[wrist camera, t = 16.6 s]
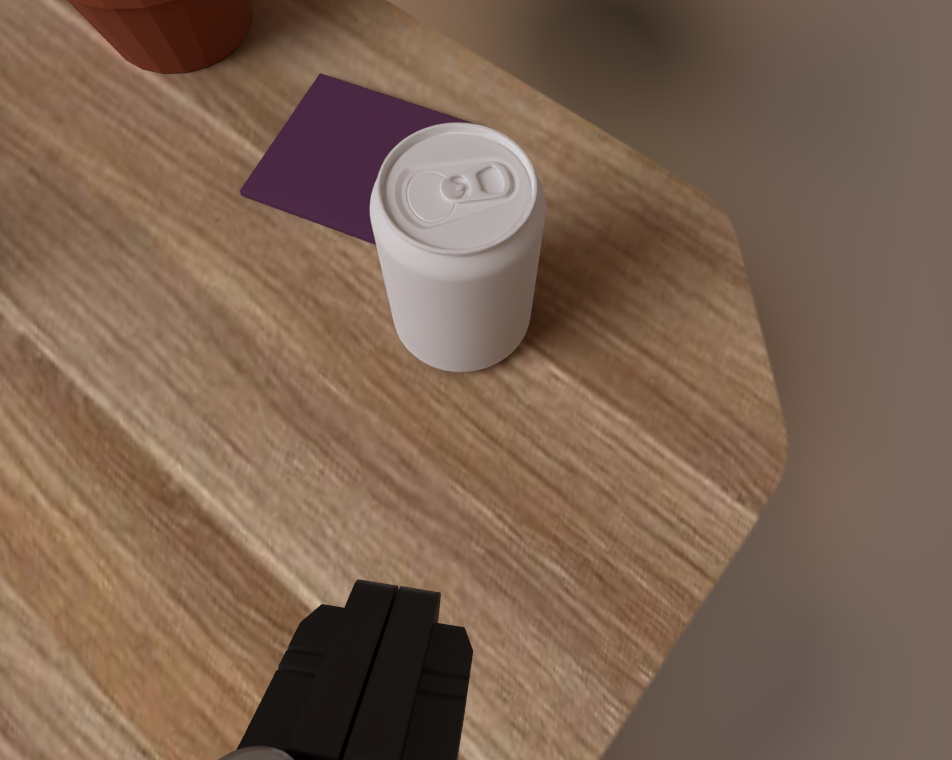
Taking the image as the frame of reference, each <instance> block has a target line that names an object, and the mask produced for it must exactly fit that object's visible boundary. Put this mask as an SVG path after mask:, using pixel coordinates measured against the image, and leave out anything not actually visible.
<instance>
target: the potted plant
mask: <svg viewBox="0 0 952 760" xmlns="http://www.w3.org/2000/svg"><path fill="white" fill-rule="evenodd" d="M68 1H69V2H70V3H71V4H72V5H73V6H74V7H75V9H76V10H77V11H78V12H79V13H80V14H81V15H82V16H83V17H84V18H85V19H86V20H87V21H88V22H89V23H90V24H91V25H92V26H93V27H94V28H95V29H96V30H97V31H98V32H99V33H100V34H101V35H102V36H103V37H104V38H105V39H106V40H107V41H108V42H109V43H110V44H111V45H112V46H113V47H114V48H115V49H116V50H117V51H118V52H119V53H120V54H121V55H122V57H123V58H124V59H125V60H127V61H128V62H130V63H132V64H134V65H136V66H137V67H139V68H141V69H143V70H148V71H153V72H158V73H163V74H167V73H187V72H190V71H194V70H198V69H202V68H205V67H208V66H210V65H212V64H214V63H216V62H218V61H220V60H221V59H223V58H225V57H227V56H228V55H229V54H230V53H231V52H233V51H234V50H235V49H236V48H237V47H238V46H239V45H240V44H241V43H242V42H243V40H244V38H245V36H246V34H247V32H248V30H249V29H250V24H251V14H252V7H251V0H68Z"/></svg>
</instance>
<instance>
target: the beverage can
mask: <svg viewBox="0 0 952 760" xmlns="http://www.w3.org/2000/svg"><path fill="white" fill-rule="evenodd" d="M545 215H546V202H545V195H544V191H543V187H542V184H541V182H540V180H539V178H538V176H537V174H536V172H535V169H534V167H533V164H532V162H531V161H530V159H529V157H528V156H527V154H526V153H525V152H524V150H523V149H522V148H521V147H520V146H519V145H518V144H517V143H516V142H514V141H513V140H512V139H510V138H509V137H507V136H506V135H504V134H502V133H500V132H498V131H496V130H494V129H491V128H489V127H485V126H482V125H477V124H471V123H444V124H438V125H434V126H430V127H427V128H424V129H422V130H419V131H417V132H415V133H413V134H411V135H410V136H408V137H406V138H405V139H404V140H402V141H401V142H400V143H399V144H397V145H396V146H395V147H394V148H393V149H392V150H391V152H390V153H389V154H388V156H387V157H386V159H385V160H384V162H383V164H382V166H381V168H380V171H379V174H378V178H377V180H376V182H375V184H374V187H373V190H372V194H371V199H370V219H371V224H372V229H373V233H374V237H375V242H376V246H377V251H378V255H379V259H380V264H381V268H382V272H383V277H384V281H385V286H386V290H387V294H388V299H389V303H390V308H391V312H392V316H393V321H394V325H395V328H396V331H397V334H398V336H399V338H400V340H401V341H402V343H403V344H404V345H405V347H406V348H407V349H408V350H409V351H410V352H411V353H412V354H413V355H414V356H415V357H417V358H418V359H419V360H421V361H422V362H424V363H426V364H428V365H430V366H432V367H435V368H438V369H441V370H445V371H451V372H471V371H477V370H481V369H485V368H488V367H490V366H493V365H495V364H497V363H499V362H500V361H502V360H503V359H505V358H506V357H508V356H509V355H510V354H511V353H512V352H513V351H514V350H515V349H516V348H517V347H518V346H519V344H520V343H521V341H522V340H523V338H524V336H525V334H526V332H527V329H528V326H529V322H530V317H531V310H532V303H533V297H534V290H535V283H536V276H537V270H538V263H539V256H540V249H541V243H542V236H543V229H544V222H545Z"/></svg>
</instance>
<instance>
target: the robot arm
mask: <svg viewBox="0 0 952 760" xmlns="http://www.w3.org/2000/svg"><path fill="white" fill-rule="evenodd" d="M440 598H441V593H440V592H434V591H428V590H422V589H415V588H409V587H403V586H400V588H399V590H398V586H396V585H390V584H384V583H377V582H371V581H365V580H359V579H358V580H357V581H356V582H355V584H354V586H353V589H352V591H351V594H350V596H349V598H348V601H347V603H346V605H345V608H342V607H336V606H330V605H324V604H322V605H320V606H319V607H318V608H317V609H316V610H314V611H313V612H312V613H311V614H310V615H309V616H307V617H306V618H305V619H304V620H303V621H301V622H300V624H299V626H298V628H297V630H296V632H295V634H294V636H293V638H292V640H291V642H290V644H289V647H288V651H286V652H285V654H284V656H283V658H282V660H281V662H280V664H279V668H278V671H277V670H276V672H275V674H274V676H273V678H272V680H271V682H270V684H269V686H268V688H267V690H266V692H265V694H264V696H263V698H262V700H261V702H260V704H259V706H258V708H257V710H256V712H255V714H254V716H253V718H252V720H251V722H250V724H249V726H248V728H247V730H246V732H245V734H244V736H243V738H242V740H241V742H240V744H239V746H238V748H237V749H236V751H233V752H231V753H229V754H227V755H225V756H223V757H222V758H220V759H219V760H457V759H458V752H459V746H460V740H461V733H462V727H463V720H464V713H465V706H466V699H467V692H468V684H469V677H470V670H471V663H472V656H473V649H472V647H471V644H470V641H469V638H468V636H467V633H466V630H465V627H459V626H453V625H446V624H440V623H438V617H439V608H440Z"/></svg>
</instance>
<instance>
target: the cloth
mask: <svg viewBox="0 0 952 760" xmlns="http://www.w3.org/2000/svg"><path fill="white" fill-rule="evenodd" d="M444 123H470V122H467V121H464V120H461V119H458V118H455V117H452V116H449V115H446V114H443V113H440V112H437V111H434V110H431V109H427V108H424V107H421V106H418V105H415V104H412V103H409V102H406V101H403V100H400V99H397V98H394V97H391V96H388V95H385V94H382V93H379V92H376V91H372V90H369V89H366V88H363V87H360V86H357V85H354V84H351V83H348V82H345V81H342V80H339V79H336V78H333V77H330V76H327V75H324V74H319V76H318V77H317V78H316V80H315V81H314V83H313V84H312V86H311V87H310V89H309V90H308V92H307V93H306V95H305V96H304V98H303V99H302V100H301V102H300V103H299V105H298V106H297V108H296V109H295V111H294V112H293V114H292V115H291V117H290V118H289V120H288V121H287V122H286V124H285V125H284V127H283V128H282V130H281V131H280V133H279V134H278V136H277V137H276V139H275V140H274V141H273V143H272V144H271V146H270V147H269V149H268V150H267V152H266V153H265V155H264V156H263V158H262V159H261V161H260V162H259V163H258V165H257V166H256V168H255V169H254V171H253V172H252V174H251V175H250V177H249V178H248V180H247V181H246V183H245V184H244V185H243V187H242V188H241V190H240V193H241V195H242V196H244V197H247V198H249V199H252V200H255V201H258V202H260V203H263V204H266V205H269V206H271V207H274V208H277V209H280V210H282V211H285V212H288V213H291V214H293V215H296V216H299V217H301V218H304V219H307V220H310V221H312V222H315V223H318V224H321V225H323V226H326V227H329V228H332V229H334V230H337V231H340V232H343V233H345V234H348V235H351V236H354V237H356V238H359V239H362V240H365V241H367V242H370V243H373V244H376V242H375V237H374V233H373V229H372V224H371V219H370V199H371V194H372V190H373V187H374V184H375V182H376V180H377V178H378V174H379V171H380V168H381V166H382V164H383V162H384V160H385V159H386V157H387V156H388V154H389V153H390V152H391V150H392V149H393V148H394V147H395V146H396V145H397V144H399V143H400V142H401V141H402V140H404V139H405V138H406V137H408V136H410V135H411V134H413V133H415V132H417V131H419V130H422V129H424V128H427V127H430V126H434V125H438V124H444ZM471 124H473V123H471Z"/></svg>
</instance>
